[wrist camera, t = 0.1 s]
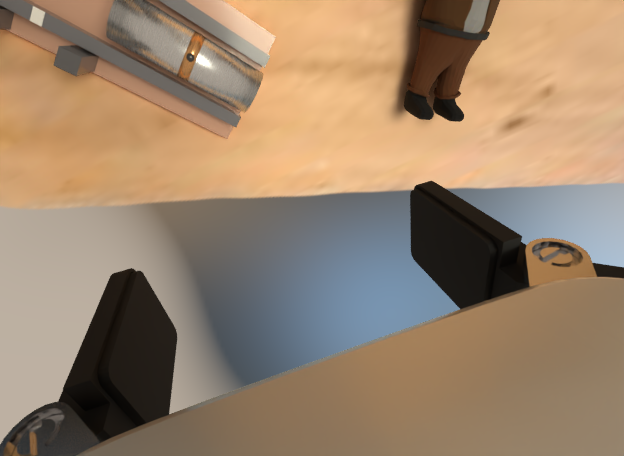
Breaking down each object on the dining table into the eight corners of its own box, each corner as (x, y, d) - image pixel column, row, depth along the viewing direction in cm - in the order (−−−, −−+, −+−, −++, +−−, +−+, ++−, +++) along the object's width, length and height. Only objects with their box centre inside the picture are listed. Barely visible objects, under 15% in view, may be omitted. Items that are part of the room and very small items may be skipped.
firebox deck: (-30, -175, 23) (-98, -236, 18) (274, 37, 35) (285, 36, 30) (-56, -4, 27) (-119, -14, 22) (226, 136, 38) (229, 151, 33)
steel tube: (114, 39, 30) (101, 37, 27) (130, -10, 29) (118, -19, 25) (241, 109, 36) (245, 116, 33) (259, 71, 35) (266, 74, 31)
